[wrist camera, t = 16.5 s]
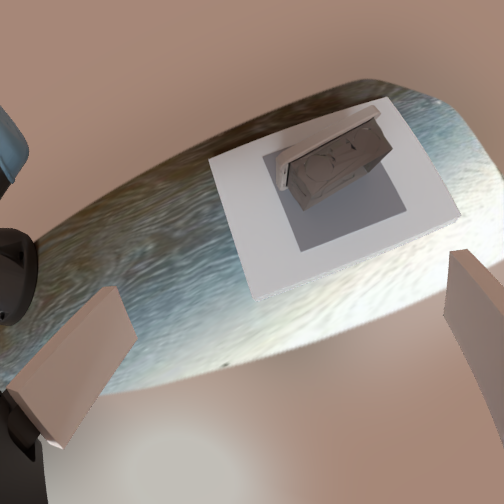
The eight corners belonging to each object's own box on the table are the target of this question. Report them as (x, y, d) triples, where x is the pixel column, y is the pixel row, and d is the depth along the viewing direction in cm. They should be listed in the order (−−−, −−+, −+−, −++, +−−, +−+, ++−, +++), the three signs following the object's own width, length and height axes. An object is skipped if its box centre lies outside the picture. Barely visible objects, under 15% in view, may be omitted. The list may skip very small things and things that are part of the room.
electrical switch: (352, 143, 31) (363, 87, 22) (382, 182, 30) (405, 134, 21) (275, 186, 32) (261, 139, 23) (303, 229, 30) (300, 195, 21)
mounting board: (257, 301, 31) (252, 298, 29) (214, 168, 36) (207, 158, 34) (454, 222, 29) (462, 214, 26) (385, 107, 34) (387, 95, 32)
